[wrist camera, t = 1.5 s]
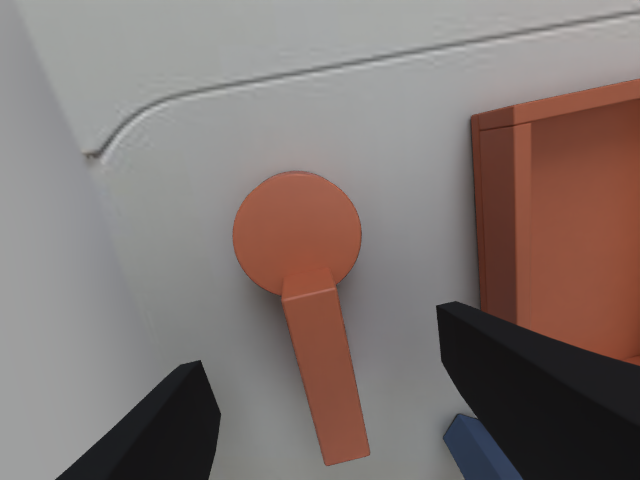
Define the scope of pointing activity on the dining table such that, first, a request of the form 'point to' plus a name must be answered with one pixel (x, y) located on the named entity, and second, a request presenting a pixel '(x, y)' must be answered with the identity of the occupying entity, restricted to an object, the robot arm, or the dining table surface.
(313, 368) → the terracotta spoon
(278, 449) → the dining table surface
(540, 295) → the terracotta tray
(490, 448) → the slate spoon
